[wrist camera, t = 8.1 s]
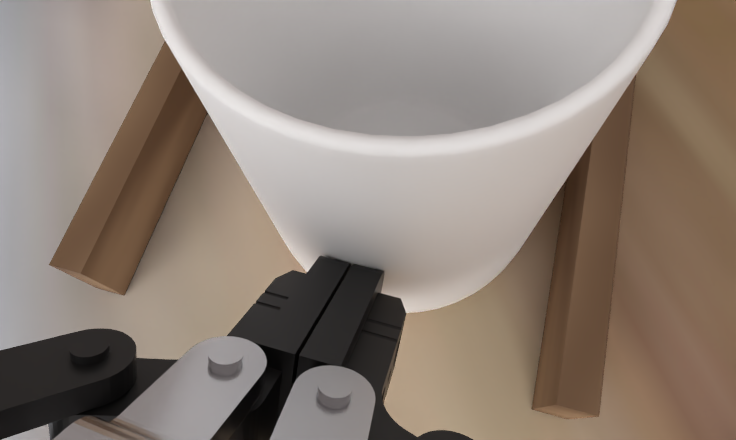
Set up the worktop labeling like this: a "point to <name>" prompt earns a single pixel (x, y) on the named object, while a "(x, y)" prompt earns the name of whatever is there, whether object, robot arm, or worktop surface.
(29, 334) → the worktop surface
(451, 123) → the mug
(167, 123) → the tray frame
